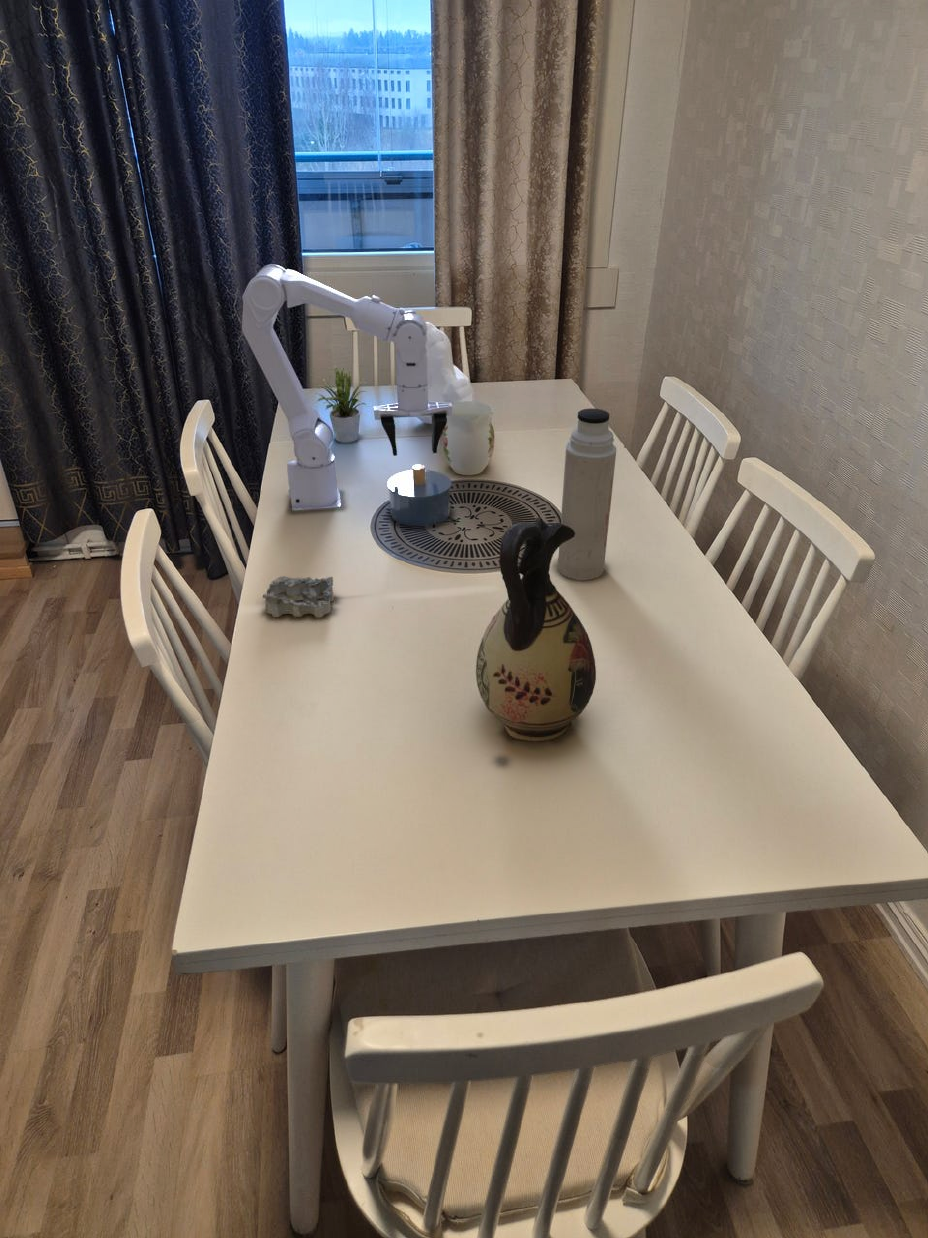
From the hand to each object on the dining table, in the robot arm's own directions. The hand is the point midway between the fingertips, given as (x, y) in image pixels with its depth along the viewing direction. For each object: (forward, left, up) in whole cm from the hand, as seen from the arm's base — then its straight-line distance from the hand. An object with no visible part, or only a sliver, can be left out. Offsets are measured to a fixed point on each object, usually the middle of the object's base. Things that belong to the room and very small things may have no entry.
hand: (414, 452), depth 163 cm
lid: (0, -6, -4) cm, 7 cm away
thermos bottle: (+25, -31, -11) cm, 41 cm away
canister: (0, -6, -10) cm, 12 cm away
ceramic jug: (+7, -69, -11) cm, 70 cm away
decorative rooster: (+11, +39, -11) cm, 42 cm away
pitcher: (+13, +15, -11) cm, 23 cm away
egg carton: (-23, -35, -11) cm, 43 cm away
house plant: (-13, +37, -11) cm, 41 cm away
